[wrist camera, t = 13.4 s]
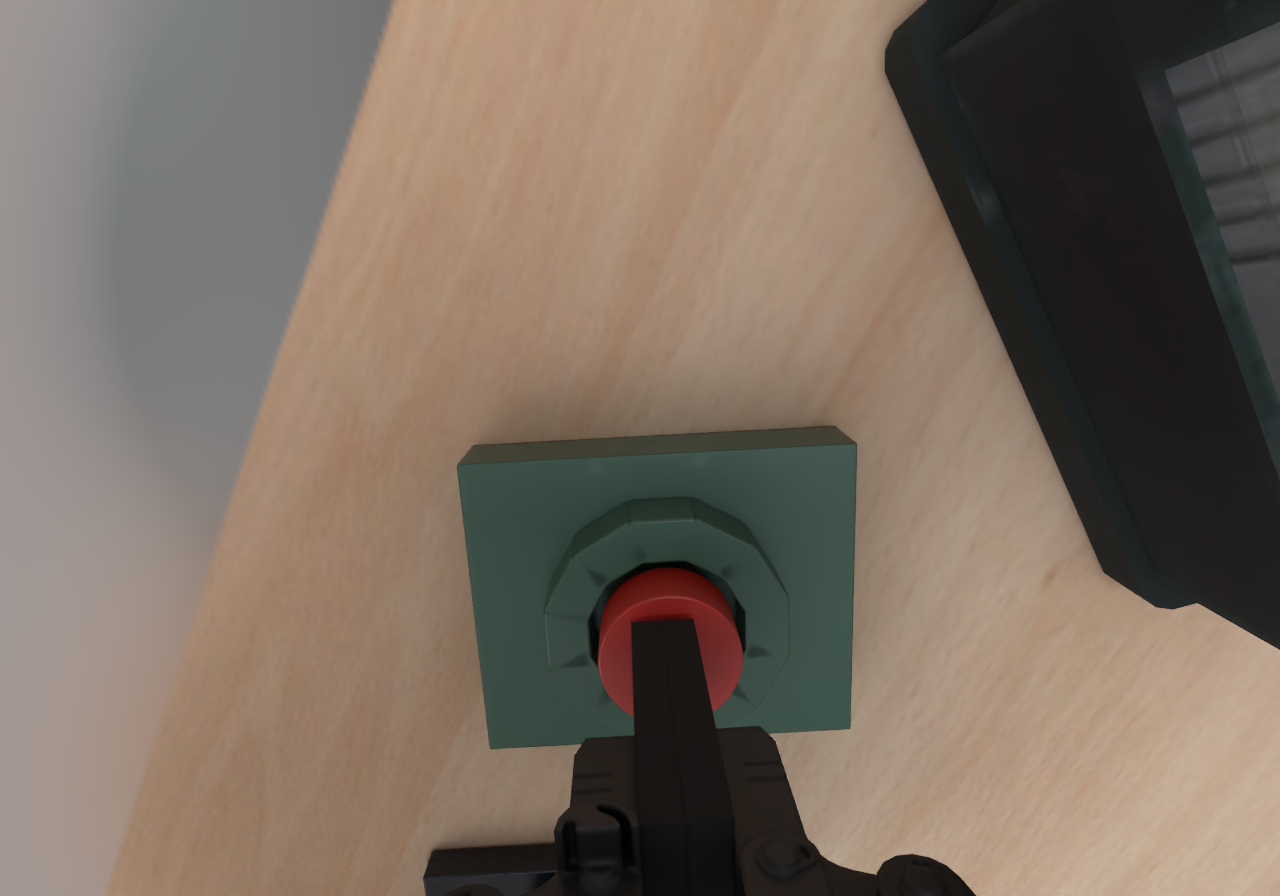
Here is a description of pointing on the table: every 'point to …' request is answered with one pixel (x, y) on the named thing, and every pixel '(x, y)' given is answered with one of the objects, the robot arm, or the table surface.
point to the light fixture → (1127, 262)
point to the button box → (656, 538)
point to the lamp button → (665, 600)
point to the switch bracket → (491, 869)
